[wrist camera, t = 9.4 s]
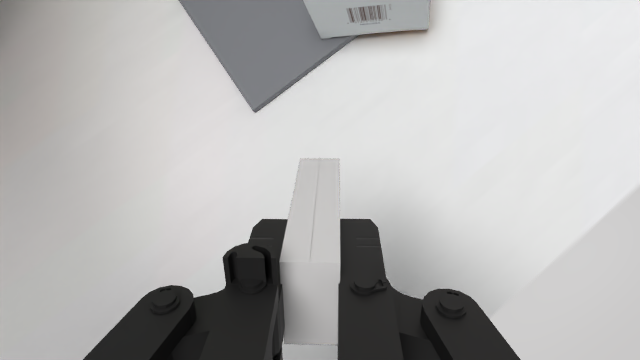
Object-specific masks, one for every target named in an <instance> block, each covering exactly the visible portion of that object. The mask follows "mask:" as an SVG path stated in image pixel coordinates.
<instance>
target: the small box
mask: <svg viewBox="0 0 640 360" xmlns="http://www.w3.org/2000/svg"><path fill="white" fill-rule="evenodd" d="M303 1H304V3H305V6H306V8H307V10H308V12H309V14H310V16H311V18H312V20H313V22H314V24H315V27H316V29H317V31H318V33H319V35H320V37H321V39H327V38H332V37H341V36H351V35H361V34H371V33H383V32H395V31H407V30H426V29H428V27H429V10H430V0H303Z"/></svg>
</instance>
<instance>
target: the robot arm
mask: <svg viewBox="0 0 640 360" xmlns="http://www.w3.org/2000/svg"><path fill="white" fill-rule="evenodd" d="M223 263H224V271H225V279H226V286H225V289H223V290H221V291H219V292H217V293H213V294H210V295H205V296H200V297H195V298H193V294H192V292H191V291H190V290H189V289H187V288H185V287H182V286H173V285H170V286H165V287H160V288H158V289H156V290H153V291H151V292H149V293H148V294H147V295H145V296H144V297H143V298H142V299H141V300H140V301H139V302H138V303H137V304H136V305H135V306H134V307H133V308H132V309H131V310H130V311H129V312H128V313H127V314H126V315H125V316H124V317H123V318H122V319H121V320H120V322H119V323H118V324H117V325H116V326H115V327H114V328H113V329H112V330H111V331H110V332H109V333H108V334H107V335H106V336H105V337H104V338H103V339H102V340H101V341H100V342H99V343H98V344H97V345H96V346H95V348H94V349H93V350H92V351H91V352H90V353H89V354H88V355H87V356H86V357H85V358H84V359H83V360H283V357H282V342H283V335H284V344H313V345H338V360H520V358H519V357H518V356H517V355H516V354H515V352H514V351H513V349H512V348H511V347H510V345H509V344H508V343H507V342H506V340H505V339H504V338H503V337H502V335H501V334H500V333H499V331H498V330H497V329H496V328H495V326H494V325H493V323H492V322H491V321H490V320H489V318H488V317H487V316H486V314H485V313H484V312H483V311H482V309H481V308H480V307H479V305H478V304H477V303H476V302H475V301H474V300H473V299H472V298H471V297H470V296H468V295H466V294H464V293H462V292H460V291H456V290H452V289H437V290H434V291H430V292H429V293H428V294H427V295H426V296H424V299H423V300H421V299H417V298H413V297H410V296H407V295H404V294H402V293H400V292H398V291H396V290H395V289H394V288H393V287H391V285H390V283H389V281H388V280H387V279H386V275H385V269H384V263H383V256H382V250H381V244H380V237H379V231H378V227H377V226H376V225H375V224H374V223H373V222H372V221H371V220H370V219H340V169H339V159H302V158H300V162H299V167H298V172H297V177H296V182H295V187H294V192H293V197H292V202H291V207H290V212H289V216H288V219H262V220H261V221H260V222H259V223H258V224H256V225H255V226H254V227H253V230H252V233H251V236H250V239H249V242H248V243H246V244H242V245H238V246H235V247H233V248H232V249H230V250H229V251H227V252H226V254H225V255H224V256H223Z"/></svg>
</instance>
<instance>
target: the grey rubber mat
mask: <svg viewBox="0 0 640 360" xmlns="http://www.w3.org/2000/svg"><path fill="white" fill-rule="evenodd" d="M179 1H180V3H181V4H182V6H183V7H184V9H185V10H186V12H187V13H188V15H189V16H190V18H191V19H192V21H193V22H194V24H195V25H196V27H197V28H198V30H199V31H200V33H201V34H202V36H203V37H204V38H205V40H206V41H207V43H208V44H209V46H210V47H211V49H212V50H213V52H214V53H215V55H216V56H217V58H218V59H219V61H220V62H221V64H222V65H223V67H224V68H225V70H226V71H227V73H228V74H229V76H230V77H231V79H232V80H233V82H234V83H235V85H236V86H237V88H238V89H239V91H240V92H241V94H242V95H243V97H244V98H245V100H246V101H247V103H248V104H249V106H250V107H251V109H252V110H253V111H254V112H255V113H256V112H257V111H258V110H260V109H261V108H262V107H264V106H265V105H266V104H268V103H269V102H270V101H272V100H273V99H274V98H276V97H277V96H278V95H280V94H281V93H282V92H284V91H285V90H286V89H288V88H289V87H290V86H291V85H293V84H294V83H295V82H297V81H298V80H299V79H301V78H302V77H303V76H305V75H306V74H307V73H309V72H310V71H311V70H313V69H314V68H315V67H317V66H318V65H319V64H321V63H322V62H323V61H325V60H326V59H327V58H329V57H330V56H331V55H333V54H334V53H335V52H337V51H338V50H339V49H341V48H342V47H343V46H345V45H346V44H347V43H349V42H350V41H351V40H353V39H354V38H355V37H357V36H358V35H351V36H341V37H332V38H327V39H321V37H320V35H319V33H318V31H317V29H316V27H315V24H314V22H313V20H312V18H311V16H310V14H309V12H308V10H307V8H306V6H305V3H304V1H303V0H179Z"/></svg>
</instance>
